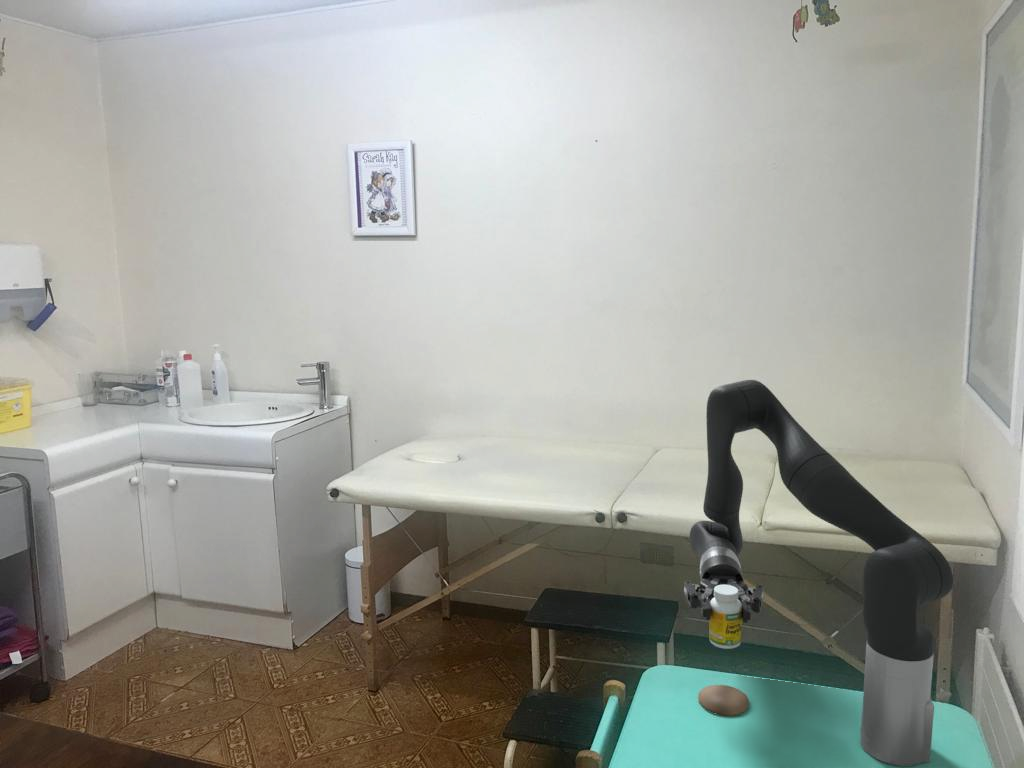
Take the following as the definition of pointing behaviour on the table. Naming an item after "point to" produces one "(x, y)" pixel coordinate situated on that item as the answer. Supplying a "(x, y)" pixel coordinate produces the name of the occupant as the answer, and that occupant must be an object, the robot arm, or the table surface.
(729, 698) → the walnut coaster
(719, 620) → the supplement bottle
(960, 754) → the table surface
